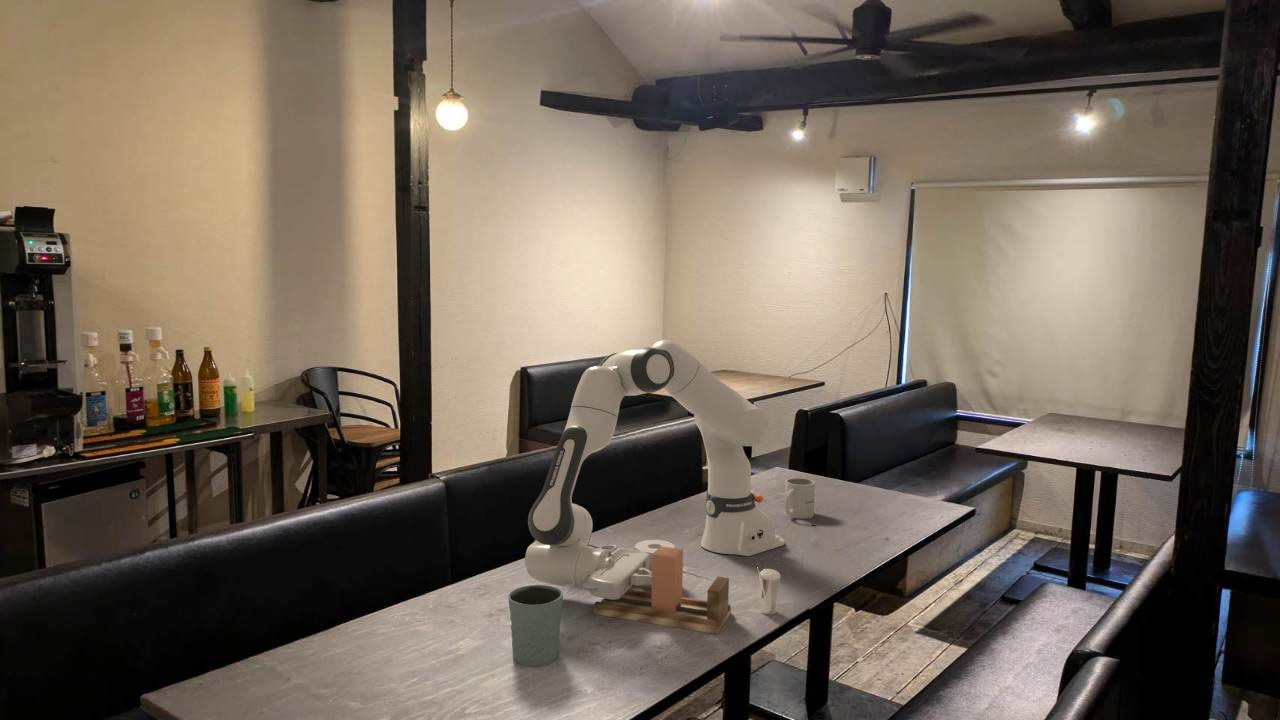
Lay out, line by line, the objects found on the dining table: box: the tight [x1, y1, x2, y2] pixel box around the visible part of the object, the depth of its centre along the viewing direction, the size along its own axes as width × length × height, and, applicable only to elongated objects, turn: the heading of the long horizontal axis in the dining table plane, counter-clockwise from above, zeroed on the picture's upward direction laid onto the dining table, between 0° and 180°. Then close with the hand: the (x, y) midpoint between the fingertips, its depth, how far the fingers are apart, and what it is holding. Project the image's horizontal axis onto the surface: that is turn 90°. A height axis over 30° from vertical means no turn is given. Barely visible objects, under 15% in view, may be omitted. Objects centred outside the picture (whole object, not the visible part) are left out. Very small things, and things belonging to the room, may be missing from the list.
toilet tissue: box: [634, 539, 676, 591], centre depth 194 cm, size 9×13×9 cm
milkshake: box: [757, 567, 782, 616], centre depth 178 cm, size 4×5×10 cm
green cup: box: [508, 584, 564, 668], centre depth 157 cm, size 10×10×12 cm
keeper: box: [651, 546, 684, 614], centre depth 176 cm, size 5×6×12 cm
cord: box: [607, 597, 707, 615], centre depth 177 cm, size 24×1×1 cm, turn 70°
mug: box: [784, 477, 816, 520], centre depth 249 cm, size 12×9×10 cm
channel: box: [593, 576, 732, 635], centre depth 177 cm, size 27×11×8 cm, turn 70°
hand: (656, 578), depth 177 cm, fingers closed, pressing on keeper
